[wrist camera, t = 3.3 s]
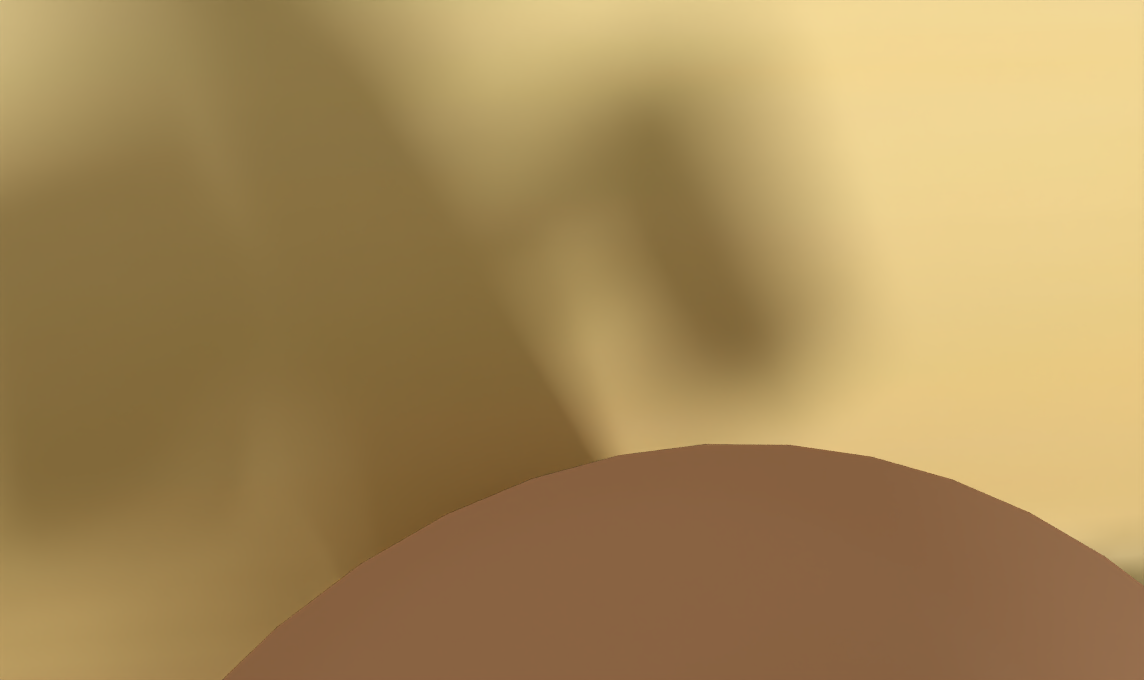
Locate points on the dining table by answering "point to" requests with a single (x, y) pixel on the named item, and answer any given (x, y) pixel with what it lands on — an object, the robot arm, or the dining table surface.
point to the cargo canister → (723, 582)
